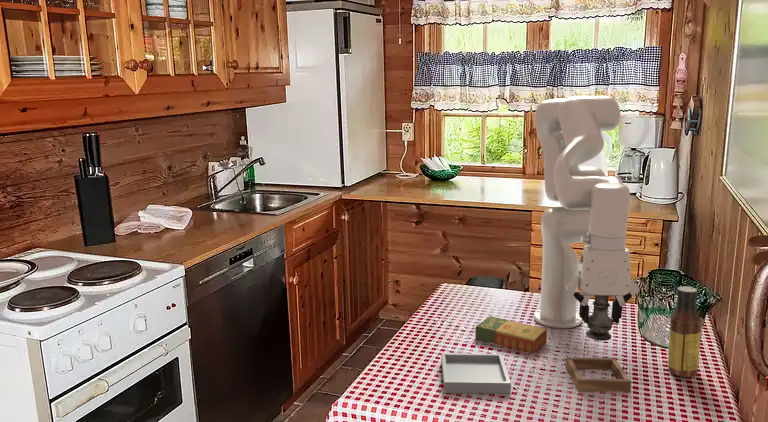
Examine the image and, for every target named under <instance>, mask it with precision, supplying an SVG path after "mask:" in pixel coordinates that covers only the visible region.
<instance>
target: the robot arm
mask: <svg viewBox="0 0 768 422" xmlns="http://www.w3.org/2000/svg"><path fill="white" fill-rule="evenodd" d="M620 109H621V108H620V106H619V103H618V102H617V100H616V99H615V98H613V97H612V96H608V95H579V96H577V95H576V96H571V97H568V98H553V99H552V98H551V99H547V100H546V99H545V100H543V101H542V102H540V103H539V104H538V105H537V106H536V108H535V115H534V125H535V130H536V134H537V137H538V140H539V143H540V146H541V148H542V154H543V170H544V171H543V175H544V189H545V193H546V197H547V199H548V200H550V201H552V202H557V203H558V202H559V204H560V205H561V206H555V207H554V206H553V207H550V208H548V209H545V210H544V211H543V213H542V215H541V217H540V229H541V238H542V260H541V261H542V262H541V263H542V266H541V282H540V284H541V285H540V306H539V307H540V308H539V309H537V310H535V311H534V313H533V318H534V320H535V321H536V322H537V323H538V324H540V325H543V326H546V327H549V328H556V329H571V328H576V327H578V326H579V325H581V323H582V321H583V323H584V324H587V323H588V319H589V316H590V306H589V301H590V299H591V298H592V296H594V297H595V296H609V297H614V299H615V300H613V301H612V304H611V305H612V306H611V316H610V318H611V319H612V320H613V321H614V324H617V325H618V324H619V323H620V319H622V317H623V307H624V306H625V305H626V303H627V302H628V301H630V300H631V299H632V297H633V296H635V295H636V294H638V292H640V288H639V286H638V285H637V284H636V283H635V282H634V280H633V279H631V276H632V275H631V273H632V272H631V253H630V250H629V249H630V248H627V247H626V241H627V230H628V218H629V209H630V197H631V192H630V188H629V187H628V186H627V185H625V184H624V182H623V180H622V179H621V178H620V177H618V176H615V175H606V174H605V172H604V171H603V170H602V169H601V168H599V167H598V166H579V165H582V164H584V163H586V162H588V161H591V160H593V159H594V158H596V157H598V155H600V154H601V152H602V151H603V150H604V146H605V141H604V137H603V134H602V132H610V131H613V130H615V129H616V128H617V127H618V126H619V124H620V121H621V110H620ZM577 243H580V244H581V243H582V244H585V245H584V246H583V249H582V253H581V256H580V259H579V255H578V253H577V252H576V251H575V250H574V249H573V247H572V246H571V244H577ZM578 288H580V291H581V292H579V291H578V290H579V289H578ZM578 302H579V312H577V304H578Z"/></svg>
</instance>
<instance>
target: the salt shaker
mask: <svg viewBox="0 0 768 422" xmlns="http://www.w3.org/2000/svg"><path fill="white" fill-rule="evenodd" d="M609 297H610V296H594V300H593V301H592V305H593V312H592V314H589V319H588V323H586V325H587V327H588V329H589V330H587V331H586V333H585V335H586V336H587V338H589V339H591V340H594V341H599V342H605V341H609V340H612V335H611V333H609V331H611V329H612V328H613V325H615V322H614V321H613V319H612V318H611V317H610V316H609V313H608V312H609V307H611V304H610V303H609V301H610V300H609V299H610V298H609Z"/></svg>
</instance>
